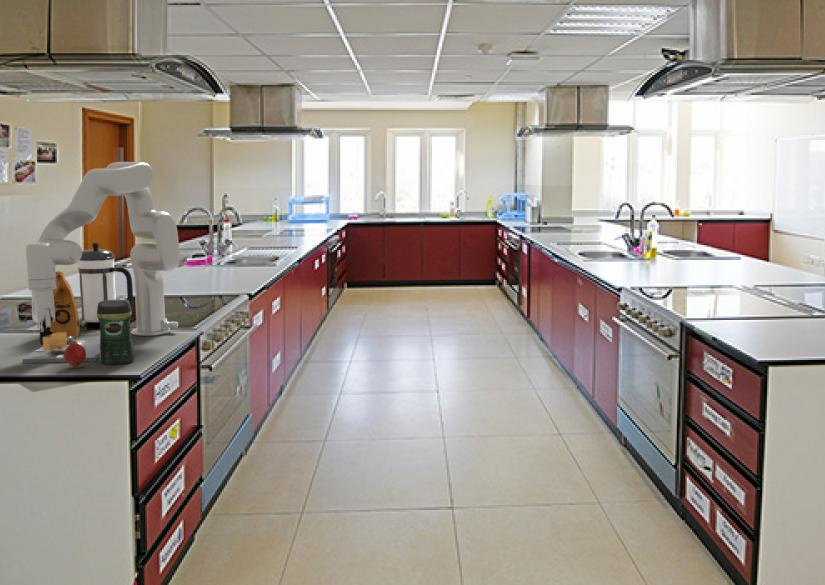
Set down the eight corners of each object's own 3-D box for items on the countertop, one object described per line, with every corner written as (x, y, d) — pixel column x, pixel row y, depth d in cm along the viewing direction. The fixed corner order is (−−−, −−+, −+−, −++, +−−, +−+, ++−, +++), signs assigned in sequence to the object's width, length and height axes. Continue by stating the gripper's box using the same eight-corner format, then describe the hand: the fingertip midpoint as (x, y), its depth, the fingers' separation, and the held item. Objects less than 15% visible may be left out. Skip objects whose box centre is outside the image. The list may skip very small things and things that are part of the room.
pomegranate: (61, 367, 227) (59, 340, 226) (81, 364, 231) (80, 337, 230) (69, 371, 223) (68, 343, 222) (90, 367, 227) (88, 340, 226)
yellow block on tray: (64, 345, 249) (63, 326, 248) (93, 347, 247) (92, 328, 246) (32, 356, 234) (30, 336, 234) (61, 358, 232) (60, 338, 231)
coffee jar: (135, 358, 239) (132, 297, 236) (132, 364, 232) (129, 301, 229) (101, 359, 237) (98, 298, 234) (97, 365, 229) (94, 302, 227)
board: (111, 346, 254) (110, 342, 254) (93, 361, 234) (93, 356, 234) (46, 348, 252) (45, 343, 252) (22, 363, 232) (22, 358, 232)
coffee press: (87, 329, 281) (82, 245, 277) (72, 323, 293) (67, 242, 289) (135, 323, 293) (131, 242, 288) (118, 317, 304) (114, 239, 300)
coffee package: (47, 341, 262) (42, 275, 259) (48, 334, 273) (44, 270, 270) (79, 339, 266) (76, 274, 262) (80, 332, 277) (76, 269, 274)
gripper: (24, 282, 239) (28, 341, 242) (33, 288, 227) (37, 350, 230) (50, 280, 243) (55, 338, 246) (61, 286, 231) (65, 347, 234)
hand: (46, 344), depth 238 cm, fingers closed
